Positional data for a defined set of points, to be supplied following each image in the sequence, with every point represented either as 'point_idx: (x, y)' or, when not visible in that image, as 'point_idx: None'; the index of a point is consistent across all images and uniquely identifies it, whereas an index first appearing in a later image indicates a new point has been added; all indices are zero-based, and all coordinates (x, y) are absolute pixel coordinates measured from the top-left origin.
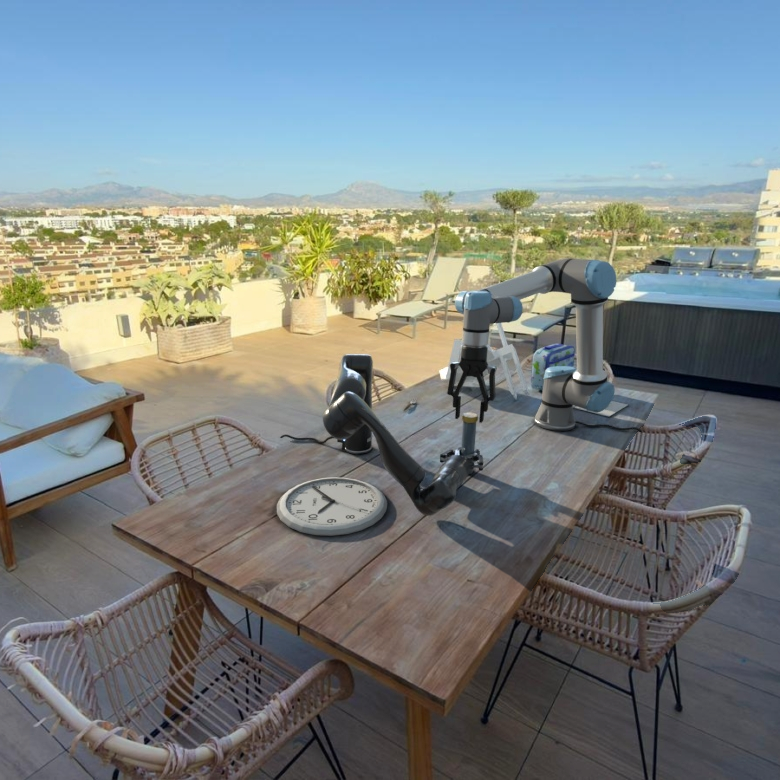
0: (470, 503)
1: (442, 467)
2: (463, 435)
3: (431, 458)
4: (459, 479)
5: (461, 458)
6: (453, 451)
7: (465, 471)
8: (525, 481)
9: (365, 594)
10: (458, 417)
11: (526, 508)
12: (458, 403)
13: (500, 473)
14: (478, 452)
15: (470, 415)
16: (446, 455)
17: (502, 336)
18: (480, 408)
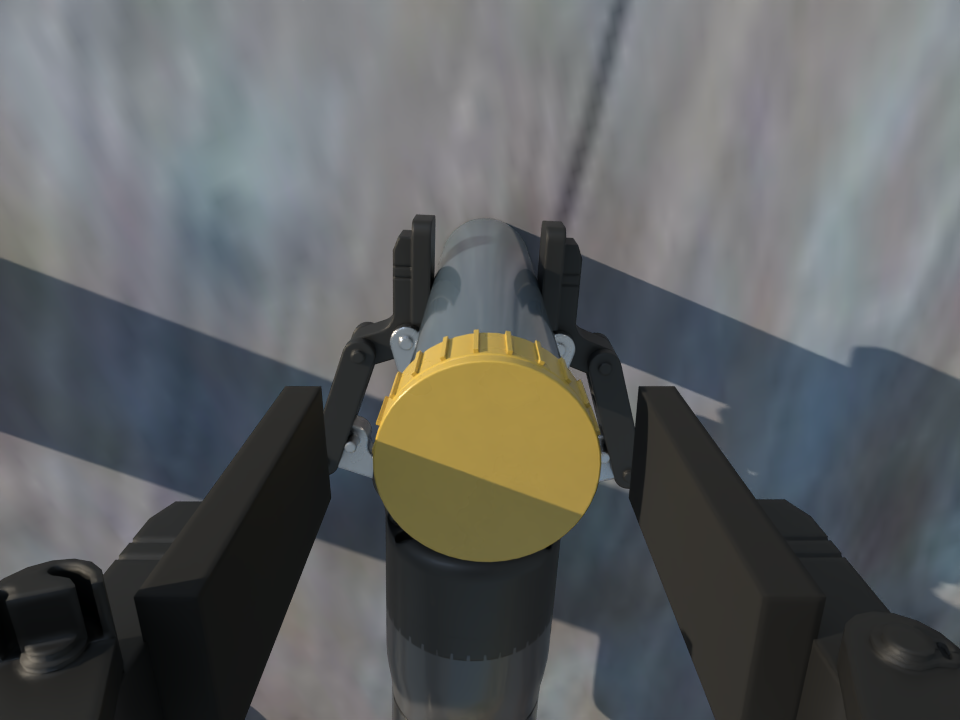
0: (587, 598)
1: (415, 718)
2: None
3: (189, 154)
4: (536, 711)
5: (505, 611)
6: (376, 343)
7: (549, 629)
8: (880, 252)
9: None
10: (325, 456)
11: (862, 548)
12: (260, 673)
13: (712, 199)
14: (573, 281)
15: (497, 490)
16: (355, 450)
17: None
18: (691, 647)
